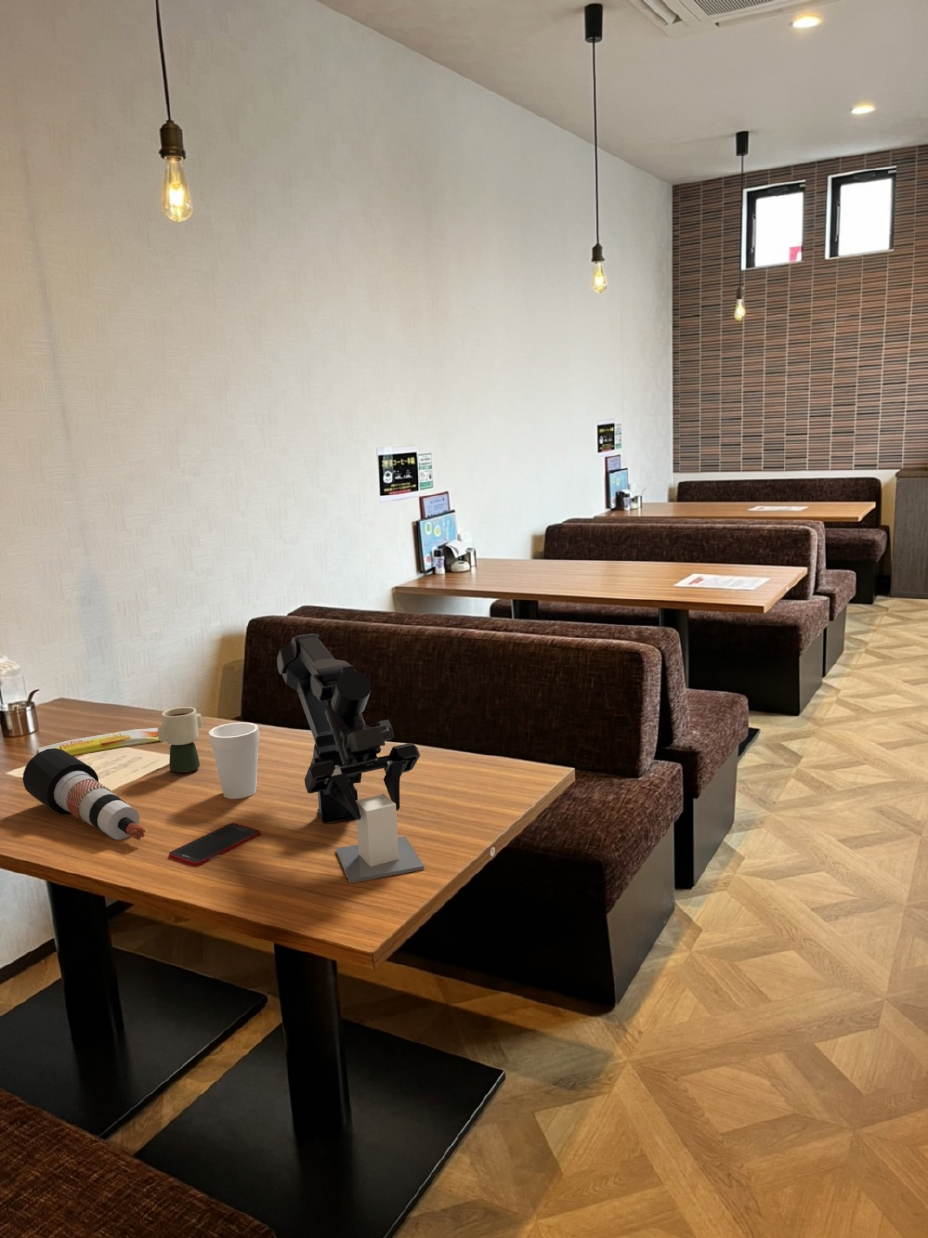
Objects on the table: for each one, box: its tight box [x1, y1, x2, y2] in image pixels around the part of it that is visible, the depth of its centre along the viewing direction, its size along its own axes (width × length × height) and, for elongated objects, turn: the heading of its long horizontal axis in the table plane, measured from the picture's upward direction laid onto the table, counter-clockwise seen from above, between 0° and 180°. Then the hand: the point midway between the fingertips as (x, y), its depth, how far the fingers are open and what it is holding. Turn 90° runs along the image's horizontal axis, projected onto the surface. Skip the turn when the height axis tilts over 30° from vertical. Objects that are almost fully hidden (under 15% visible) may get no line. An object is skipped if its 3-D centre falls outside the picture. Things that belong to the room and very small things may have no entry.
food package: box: [37, 727, 160, 757], centre depth 217 cm, size 27×2×10 cm
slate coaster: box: [335, 835, 425, 884], centre depth 152 cm, size 12×12×1 cm
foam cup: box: [208, 722, 260, 800], centre depth 183 cm, size 10×9×13 cm
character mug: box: [157, 706, 203, 774], centre depth 197 cm, size 11×7×13 cm, turn 144°
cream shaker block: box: [356, 793, 399, 867], centre depth 151 cm, size 5×5×10 cm
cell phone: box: [168, 822, 261, 867], centre depth 161 cm, size 8×15×1 cm, turn 146°
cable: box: [22, 748, 146, 841], centre depth 172 cm, size 10×34×10 cm, turn 48°
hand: (379, 814), depth 150 cm, fingers open, 6 cm apart
